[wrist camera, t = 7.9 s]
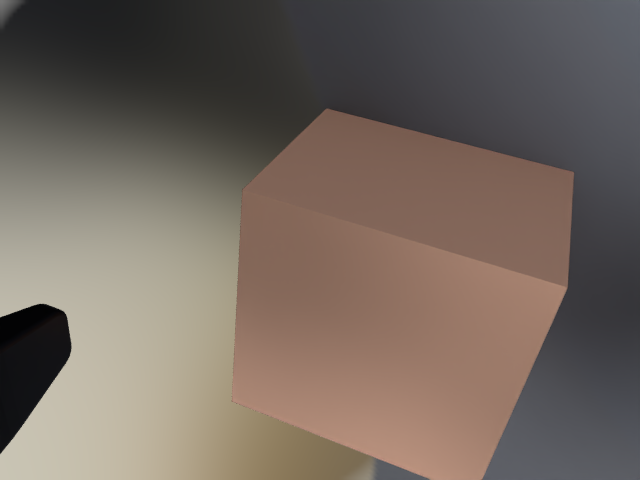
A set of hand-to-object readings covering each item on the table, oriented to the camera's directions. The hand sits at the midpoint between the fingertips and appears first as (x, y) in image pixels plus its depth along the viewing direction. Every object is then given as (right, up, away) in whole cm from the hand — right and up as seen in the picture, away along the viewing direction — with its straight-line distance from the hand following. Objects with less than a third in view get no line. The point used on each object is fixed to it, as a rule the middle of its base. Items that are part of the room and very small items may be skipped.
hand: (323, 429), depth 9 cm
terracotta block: (+2, +3, +5) cm, 6 cm away
